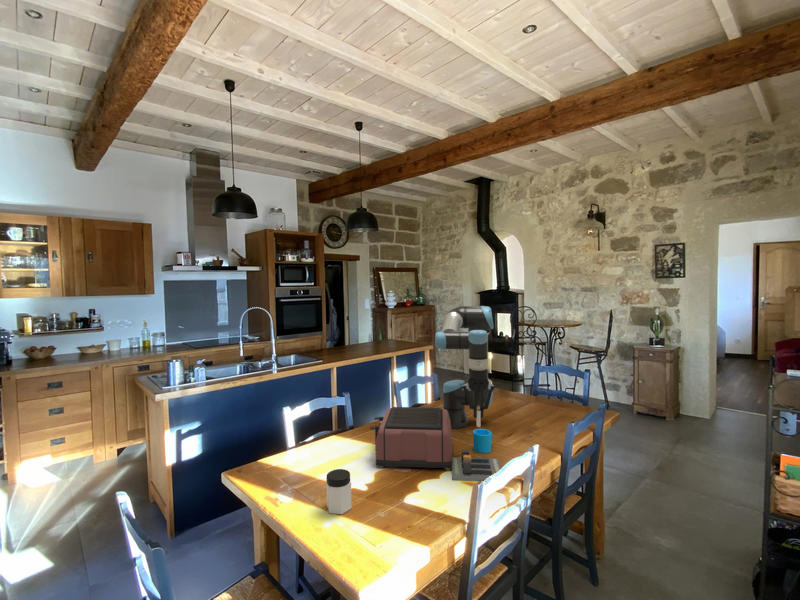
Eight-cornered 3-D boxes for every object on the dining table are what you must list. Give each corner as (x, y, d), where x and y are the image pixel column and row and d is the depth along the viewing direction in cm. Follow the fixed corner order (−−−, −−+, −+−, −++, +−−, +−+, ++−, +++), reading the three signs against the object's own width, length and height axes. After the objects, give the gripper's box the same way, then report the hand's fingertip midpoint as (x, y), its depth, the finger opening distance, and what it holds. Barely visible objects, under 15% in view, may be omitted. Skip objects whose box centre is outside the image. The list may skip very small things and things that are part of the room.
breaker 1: (461, 458, 174) (461, 449, 173) (468, 458, 173) (468, 449, 173) (462, 461, 171) (462, 452, 171) (469, 461, 170) (469, 452, 170)
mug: (484, 454, 182) (484, 437, 182) (469, 449, 188) (469, 432, 188) (499, 447, 190) (499, 430, 190) (485, 442, 196) (485, 425, 196)
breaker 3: (463, 469, 164) (463, 460, 163) (470, 469, 163) (470, 460, 163) (463, 473, 161) (463, 463, 161) (471, 473, 161) (471, 463, 160)
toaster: (377, 439, 201) (377, 404, 200) (450, 441, 198) (450, 405, 197) (366, 468, 171) (365, 427, 170) (452, 471, 167) (452, 429, 166)
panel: (451, 461, 176) (451, 456, 176) (498, 463, 174) (498, 458, 174) (452, 480, 160) (452, 474, 160) (504, 481, 158) (504, 476, 158)
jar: (341, 498, 148) (340, 466, 147) (356, 506, 143) (355, 472, 142) (321, 509, 141) (320, 475, 140) (337, 517, 136) (336, 483, 135)
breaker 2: (463, 464, 169) (463, 454, 168) (470, 464, 168) (470, 454, 168) (463, 467, 166) (463, 457, 166) (471, 467, 165) (471, 457, 165)
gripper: (462, 370, 161) (462, 428, 163) (495, 370, 160) (495, 429, 161) (461, 366, 169) (461, 421, 170) (493, 366, 167) (493, 422, 169)
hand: (478, 425), depth 166 cm, fingers closed
